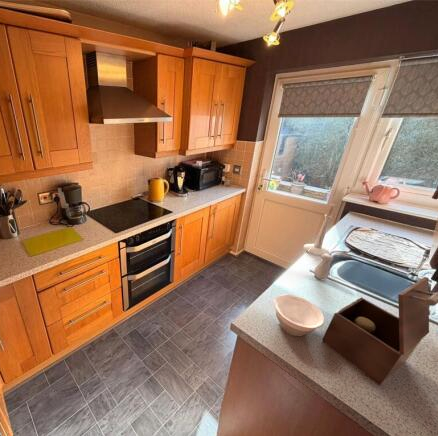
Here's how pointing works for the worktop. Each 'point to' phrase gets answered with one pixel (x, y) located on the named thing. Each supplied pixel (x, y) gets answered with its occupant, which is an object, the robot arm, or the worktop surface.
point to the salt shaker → (323, 267)
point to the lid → (414, 313)
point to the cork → (365, 324)
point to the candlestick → (321, 237)
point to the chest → (367, 340)
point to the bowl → (297, 315)
